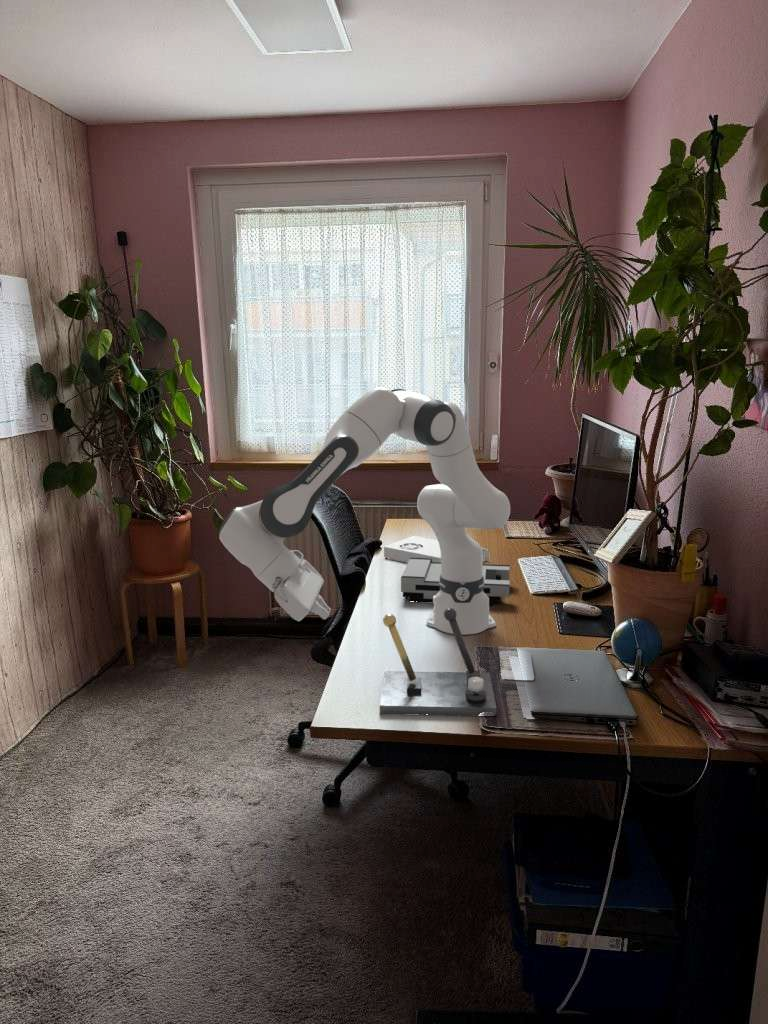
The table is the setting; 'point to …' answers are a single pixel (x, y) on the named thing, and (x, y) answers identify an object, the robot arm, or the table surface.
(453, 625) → the black lever
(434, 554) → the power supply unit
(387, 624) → the brass lever
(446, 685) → the switch panel
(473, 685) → the grey button
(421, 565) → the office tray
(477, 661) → the table surface
